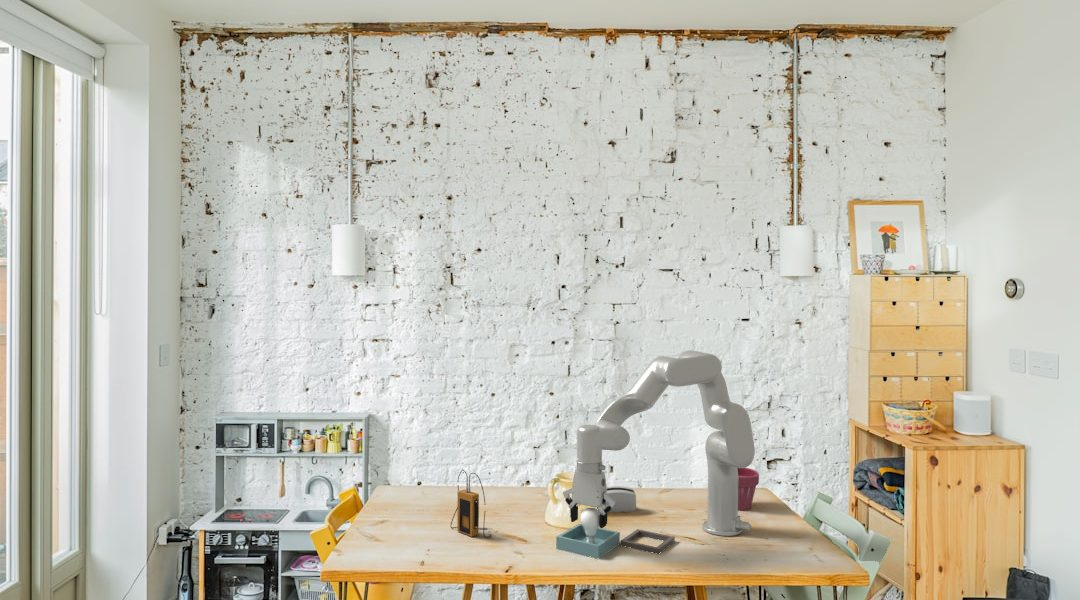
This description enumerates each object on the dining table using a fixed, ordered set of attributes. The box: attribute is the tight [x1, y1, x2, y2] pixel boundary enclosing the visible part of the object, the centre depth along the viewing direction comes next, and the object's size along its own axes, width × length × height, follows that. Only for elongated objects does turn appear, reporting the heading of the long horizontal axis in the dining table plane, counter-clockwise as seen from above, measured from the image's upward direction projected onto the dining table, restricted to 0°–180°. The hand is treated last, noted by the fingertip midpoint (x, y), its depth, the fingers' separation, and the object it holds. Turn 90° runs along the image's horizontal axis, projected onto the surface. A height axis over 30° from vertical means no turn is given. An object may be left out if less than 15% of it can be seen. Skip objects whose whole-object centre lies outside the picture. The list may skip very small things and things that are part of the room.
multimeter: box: [450, 469, 492, 538], centre depth 225 cm, size 15×10×20 cm
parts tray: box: [555, 523, 621, 559], centre depth 212 cm, size 14×14×4 cm
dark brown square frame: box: [619, 528, 676, 555], centre depth 215 cm, size 12×12×2 cm
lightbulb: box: [579, 507, 601, 544], centre depth 212 cm, size 6×6×11 cm
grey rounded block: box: [597, 485, 637, 514], centre depth 246 cm, size 17×5×10 cm, turn 100°
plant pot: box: [737, 467, 760, 511], centre depth 253 cm, size 14×14×13 cm
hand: (588, 523), depth 212 cm, fingers open, 9 cm apart
